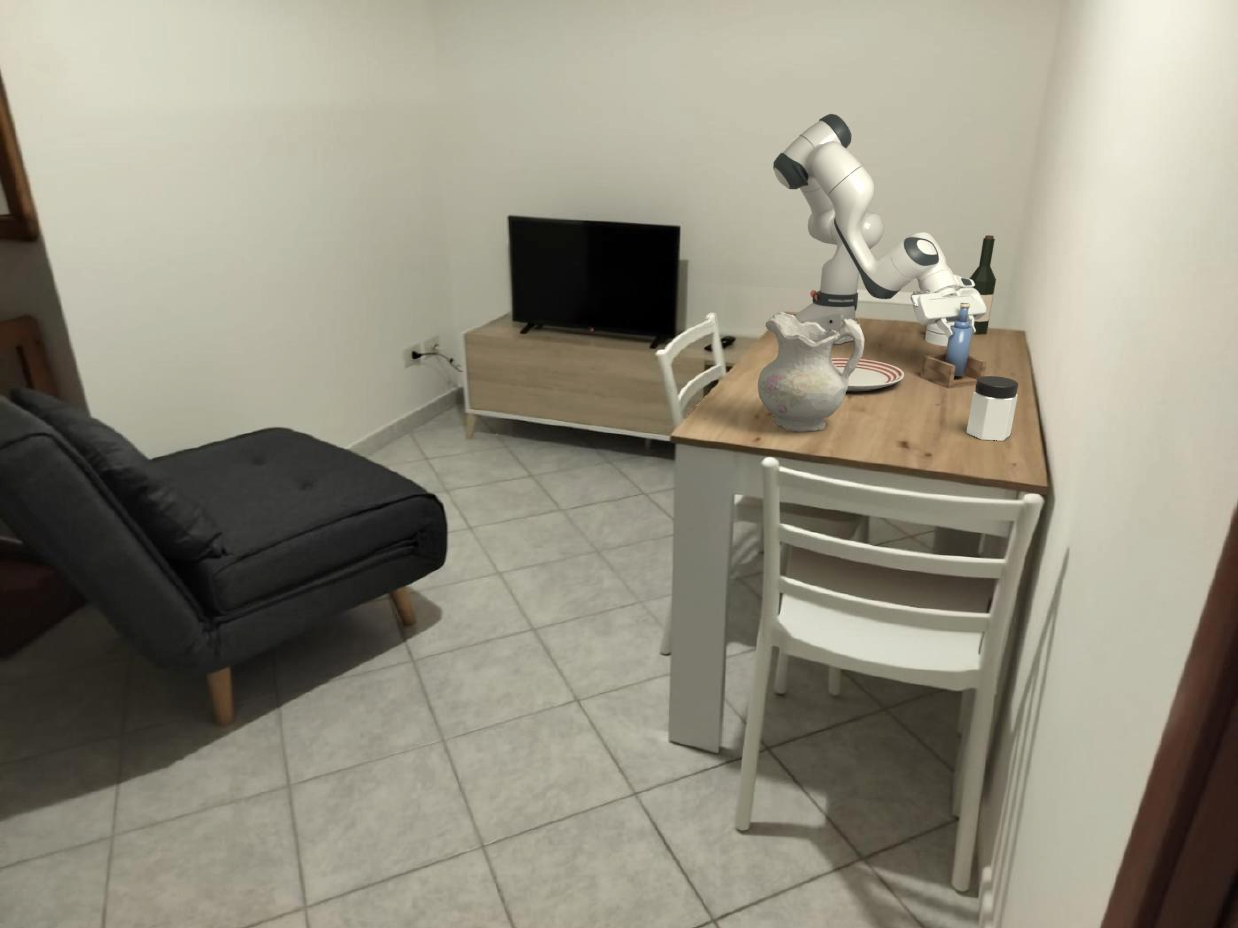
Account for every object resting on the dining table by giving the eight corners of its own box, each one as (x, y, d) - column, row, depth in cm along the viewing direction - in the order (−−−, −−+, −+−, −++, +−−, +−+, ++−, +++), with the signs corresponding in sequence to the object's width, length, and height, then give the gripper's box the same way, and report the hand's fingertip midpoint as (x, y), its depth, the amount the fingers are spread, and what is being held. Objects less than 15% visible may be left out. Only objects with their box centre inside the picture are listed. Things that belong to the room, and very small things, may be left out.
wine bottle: (983, 328, 272) (999, 234, 260) (991, 334, 264) (1008, 237, 252) (956, 328, 272) (971, 234, 261) (964, 334, 265) (979, 237, 253)
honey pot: (916, 339, 258) (924, 281, 251) (942, 334, 265) (951, 277, 258) (951, 348, 248) (960, 288, 241) (978, 343, 255) (988, 283, 248)
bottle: (942, 374, 215) (953, 305, 208) (943, 369, 220) (954, 301, 213) (965, 376, 213) (976, 306, 206) (965, 371, 218) (976, 302, 211)
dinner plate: (774, 382, 217) (775, 370, 216) (827, 362, 235) (828, 350, 234) (871, 405, 200) (873, 392, 198) (920, 381, 218) (922, 368, 217)
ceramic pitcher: (852, 419, 193) (863, 311, 185) (855, 442, 175) (868, 323, 167) (758, 413, 197) (765, 307, 190) (752, 434, 179) (759, 318, 172)
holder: (982, 383, 215) (986, 361, 213) (948, 388, 211) (951, 366, 209) (953, 372, 224) (957, 352, 222) (920, 377, 220) (923, 356, 218)
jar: (975, 425, 186) (984, 373, 181) (1013, 433, 181) (1024, 380, 176) (961, 435, 180) (970, 382, 175) (1000, 444, 175) (1011, 389, 170)
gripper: (915, 285, 210) (937, 331, 205) (978, 279, 217) (1000, 324, 213) (901, 299, 216) (922, 345, 211) (962, 293, 223) (984, 337, 218)
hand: (961, 334), depth 212 cm, fingers closed on bottle, 5 cm apart
